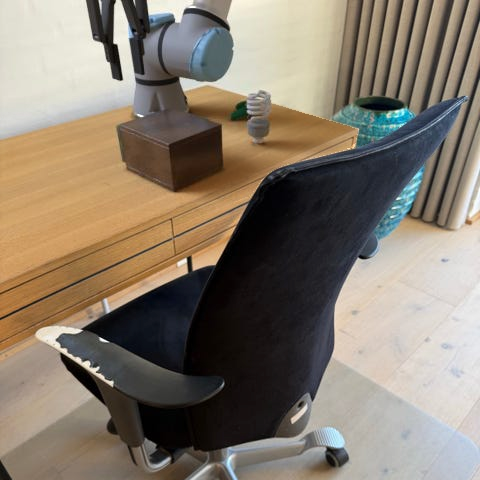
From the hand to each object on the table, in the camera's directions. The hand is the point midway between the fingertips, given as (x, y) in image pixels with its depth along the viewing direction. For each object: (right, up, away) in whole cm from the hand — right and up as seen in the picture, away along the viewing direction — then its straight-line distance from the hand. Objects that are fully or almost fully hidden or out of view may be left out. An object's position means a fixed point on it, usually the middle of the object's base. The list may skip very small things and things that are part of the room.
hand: (128, 76), depth 99 cm
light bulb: (+28, -9, +15) cm, 33 cm away
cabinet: (+9, -18, +5) cm, 21 cm away
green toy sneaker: (+24, +5, +30) cm, 39 cm away
